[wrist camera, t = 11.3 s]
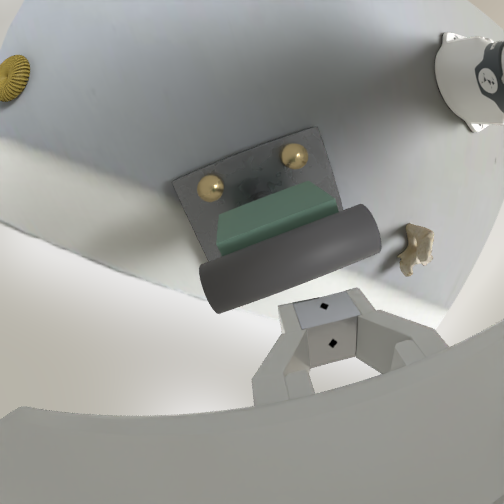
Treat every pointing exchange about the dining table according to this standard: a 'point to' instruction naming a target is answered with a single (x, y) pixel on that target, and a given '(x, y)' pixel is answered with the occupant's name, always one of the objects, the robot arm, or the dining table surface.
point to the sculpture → (13, 77)
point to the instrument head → (284, 245)
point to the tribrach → (252, 181)
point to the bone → (416, 248)
